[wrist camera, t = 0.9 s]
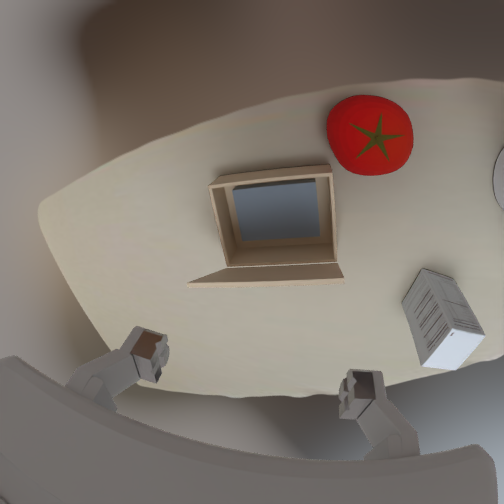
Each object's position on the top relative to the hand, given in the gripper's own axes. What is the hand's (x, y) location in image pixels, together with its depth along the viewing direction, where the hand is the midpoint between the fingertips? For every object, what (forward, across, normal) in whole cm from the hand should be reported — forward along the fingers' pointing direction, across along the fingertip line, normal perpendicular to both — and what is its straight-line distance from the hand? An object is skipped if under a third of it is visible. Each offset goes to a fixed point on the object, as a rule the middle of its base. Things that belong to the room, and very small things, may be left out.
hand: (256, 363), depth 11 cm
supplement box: (+36, -32, +17) cm, 51 cm away
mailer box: (+37, +1, +7) cm, 37 cm away
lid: (+24, 0, +11) cm, 26 cm away
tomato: (+36, -10, -9) cm, 39 cm away
